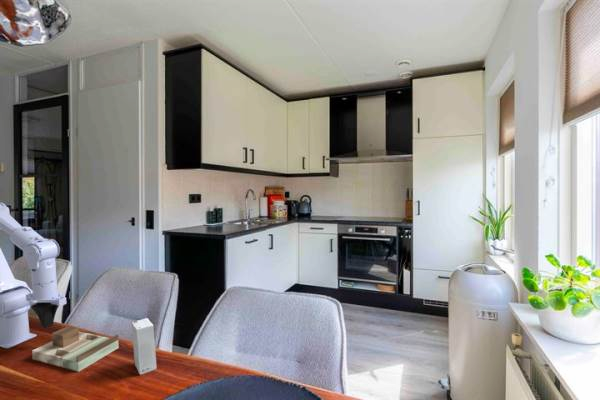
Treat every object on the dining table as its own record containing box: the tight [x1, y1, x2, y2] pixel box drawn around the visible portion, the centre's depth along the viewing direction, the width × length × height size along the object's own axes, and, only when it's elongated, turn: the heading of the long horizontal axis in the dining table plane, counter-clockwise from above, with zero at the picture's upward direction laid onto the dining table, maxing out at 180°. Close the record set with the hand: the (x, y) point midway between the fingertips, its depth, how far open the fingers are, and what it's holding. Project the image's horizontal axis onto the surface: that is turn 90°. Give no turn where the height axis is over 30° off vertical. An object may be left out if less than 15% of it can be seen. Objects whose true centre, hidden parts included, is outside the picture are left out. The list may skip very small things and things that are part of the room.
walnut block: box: [51, 326, 80, 348], centre depth 91 cm, size 4×4×4 cm
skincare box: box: [131, 317, 157, 376], centre depth 83 cm, size 6×4×12 cm
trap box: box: [31, 331, 120, 372], centre depth 90 cm, size 18×12×4 cm, turn 71°
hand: (47, 326), depth 94 cm, fingers closed
